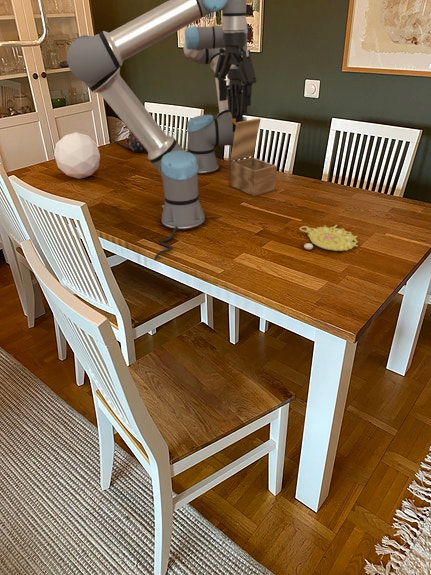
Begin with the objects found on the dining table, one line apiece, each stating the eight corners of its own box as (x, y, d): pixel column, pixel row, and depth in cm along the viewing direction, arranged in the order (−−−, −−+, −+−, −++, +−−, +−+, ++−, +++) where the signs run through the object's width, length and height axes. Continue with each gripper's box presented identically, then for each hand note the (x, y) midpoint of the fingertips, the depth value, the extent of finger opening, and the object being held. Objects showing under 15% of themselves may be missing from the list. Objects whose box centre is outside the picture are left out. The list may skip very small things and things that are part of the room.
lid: (260, 119, 174) (248, 110, 178) (237, 123, 169) (225, 114, 173) (253, 156, 185) (241, 147, 190) (231, 161, 180) (220, 151, 185)
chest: (275, 190, 180) (276, 165, 175) (253, 196, 175) (254, 171, 170) (251, 180, 191) (252, 157, 186) (231, 185, 186) (230, 162, 181)
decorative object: (343, 255, 128) (285, 234, 139) (342, 262, 130) (284, 241, 140) (372, 230, 142) (317, 213, 152) (371, 237, 143) (316, 219, 153)
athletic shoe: (138, 131, 244) (117, 136, 240) (148, 124, 224) (125, 129, 220) (144, 152, 247) (123, 157, 243) (154, 147, 227) (132, 152, 223)
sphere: (87, 194, 201) (71, 168, 182) (55, 173, 206) (37, 145, 187) (114, 165, 206) (102, 136, 187) (82, 145, 210) (67, 115, 192)
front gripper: (268, 32, 133) (266, 106, 145) (221, 30, 151) (222, 97, 162) (249, 33, 130) (248, 110, 141) (203, 31, 147) (205, 99, 159)
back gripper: (257, 67, 164) (255, 133, 176) (233, 65, 174) (234, 127, 187) (240, 69, 160) (240, 136, 173) (218, 66, 171) (219, 130, 183)
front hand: (234, 103), depth 152 cm, fingers open, 13 cm apart
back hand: (237, 131), depth 180 cm, fingers closed on lid, 1 cm apart
